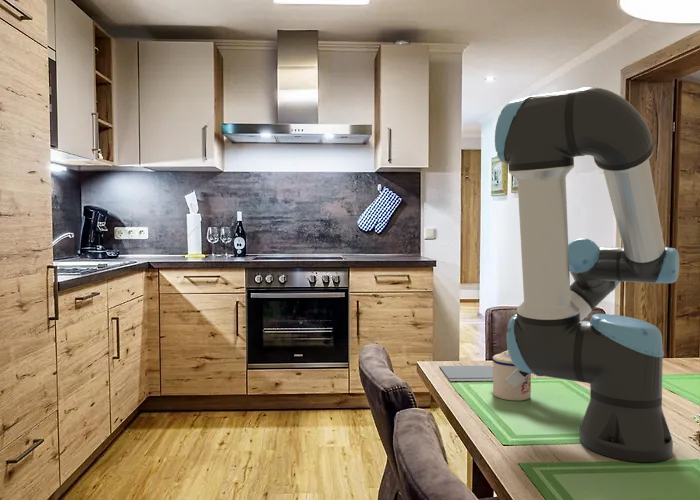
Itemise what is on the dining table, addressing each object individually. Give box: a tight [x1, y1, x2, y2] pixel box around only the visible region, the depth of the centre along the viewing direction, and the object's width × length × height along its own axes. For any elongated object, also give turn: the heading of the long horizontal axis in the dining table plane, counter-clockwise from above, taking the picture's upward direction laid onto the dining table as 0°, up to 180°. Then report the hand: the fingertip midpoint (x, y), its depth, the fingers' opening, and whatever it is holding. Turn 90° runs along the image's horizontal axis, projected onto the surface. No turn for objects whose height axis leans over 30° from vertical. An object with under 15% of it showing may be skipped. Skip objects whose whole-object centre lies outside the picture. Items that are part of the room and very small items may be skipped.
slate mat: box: [438, 365, 493, 380], centre depth 150 cm, size 13×20×1 cm, turn 91°
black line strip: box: [448, 378, 493, 383], centre depth 142 cm, size 2×21×1 cm, turn 91°
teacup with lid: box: [491, 350, 532, 402], centre depth 130 cm, size 12×9×12 cm
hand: (502, 377), depth 130 cm, fingers closed on teacup with lid, 11 cm apart
